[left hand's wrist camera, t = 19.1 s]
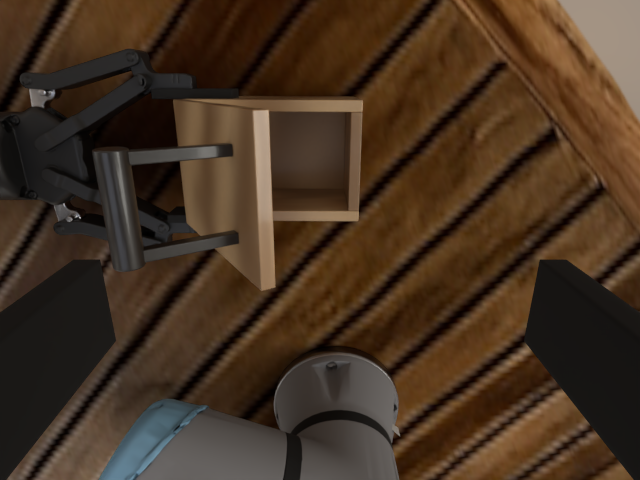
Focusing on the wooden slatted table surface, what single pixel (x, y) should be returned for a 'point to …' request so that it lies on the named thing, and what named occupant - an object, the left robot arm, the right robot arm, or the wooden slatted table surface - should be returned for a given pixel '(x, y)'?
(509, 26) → the wooden slatted table surface
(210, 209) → the lid
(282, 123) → the chest
